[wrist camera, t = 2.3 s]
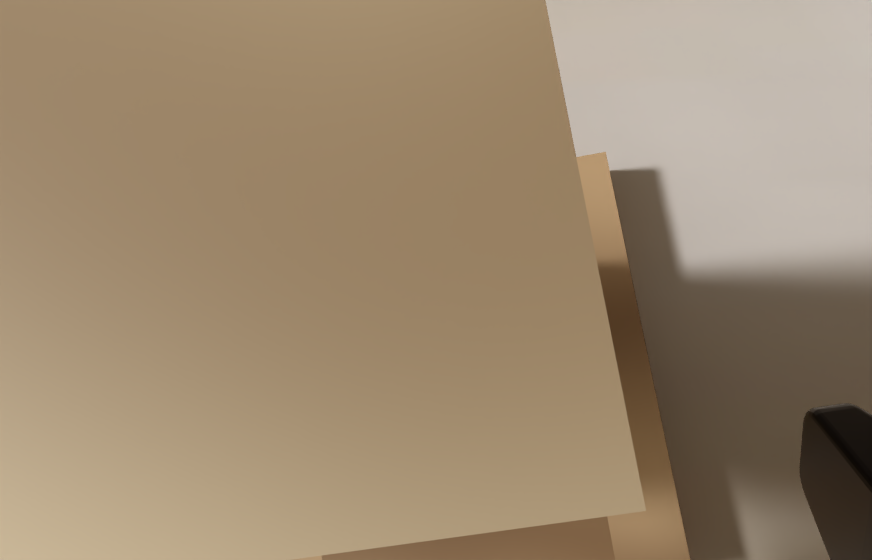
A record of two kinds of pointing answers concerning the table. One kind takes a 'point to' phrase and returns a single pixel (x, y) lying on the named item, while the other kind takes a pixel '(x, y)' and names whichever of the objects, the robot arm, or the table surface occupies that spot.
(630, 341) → the square wooden frame
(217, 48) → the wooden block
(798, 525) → the table surface
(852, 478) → the robot arm
